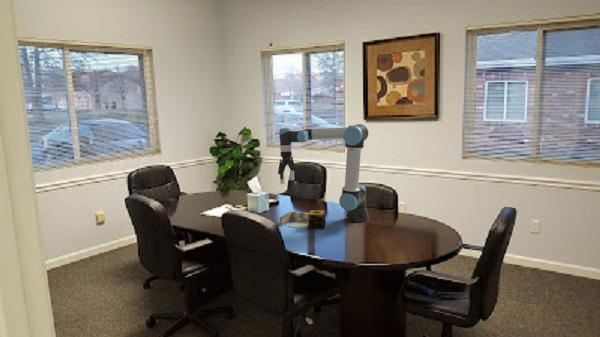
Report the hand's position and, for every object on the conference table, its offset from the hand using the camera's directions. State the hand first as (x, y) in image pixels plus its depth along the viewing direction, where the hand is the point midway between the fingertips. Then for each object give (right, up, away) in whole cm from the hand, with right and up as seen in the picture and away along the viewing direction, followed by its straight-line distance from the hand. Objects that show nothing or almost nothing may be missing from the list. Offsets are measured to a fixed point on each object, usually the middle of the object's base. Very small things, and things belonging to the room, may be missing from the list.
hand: (287, 181), depth 309 cm
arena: (+7, -28, -9) cm, 30 cm away
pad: (+9, -28, -12) cm, 32 cm away
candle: (+20, -29, -17) cm, 39 cm away
